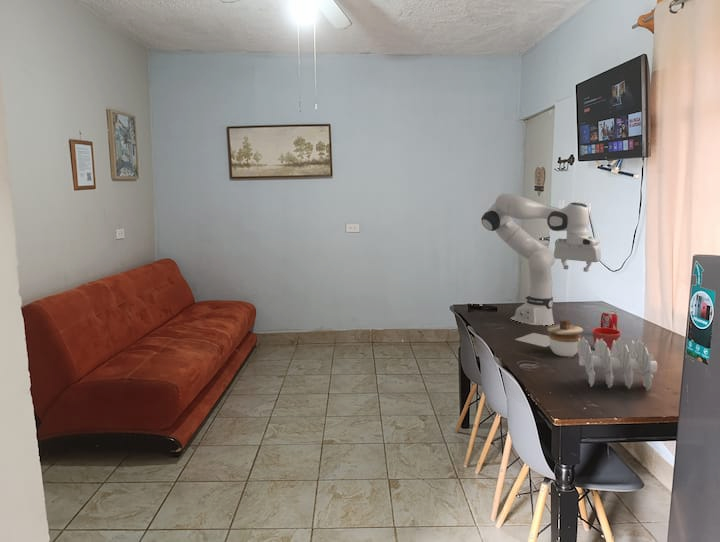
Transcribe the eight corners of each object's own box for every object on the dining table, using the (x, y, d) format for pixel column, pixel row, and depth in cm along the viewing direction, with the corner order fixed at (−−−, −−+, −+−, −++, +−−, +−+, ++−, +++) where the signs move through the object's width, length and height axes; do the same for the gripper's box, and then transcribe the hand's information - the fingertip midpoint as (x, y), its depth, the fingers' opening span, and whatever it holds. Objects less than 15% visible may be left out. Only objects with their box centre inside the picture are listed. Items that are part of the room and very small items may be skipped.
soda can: (618, 339, 239) (619, 314, 237) (602, 338, 241) (603, 313, 239) (614, 334, 246) (615, 310, 244) (598, 334, 247) (599, 310, 245)
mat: (514, 341, 240) (514, 339, 239) (533, 334, 249) (533, 332, 249) (545, 349, 227) (545, 347, 227) (564, 341, 237) (564, 339, 237)
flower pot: (608, 358, 213) (609, 335, 212) (586, 351, 223) (587, 329, 221) (625, 353, 218) (626, 331, 217) (602, 347, 228) (603, 326, 226)
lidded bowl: (584, 354, 219) (585, 329, 217) (573, 362, 210) (574, 336, 208) (555, 349, 227) (556, 325, 225) (543, 356, 218) (544, 331, 216)
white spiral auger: (655, 403, 178) (579, 395, 183) (643, 367, 192) (572, 360, 197) (670, 366, 168) (588, 359, 173) (656, 330, 182) (581, 324, 187)
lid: (540, 330, 218) (541, 320, 217) (558, 324, 226) (558, 314, 226) (572, 336, 207) (572, 326, 206) (589, 330, 216) (589, 320, 215)
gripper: (551, 238, 232) (550, 268, 235) (596, 241, 217) (594, 273, 219) (558, 237, 236) (557, 267, 239) (603, 240, 221) (601, 272, 223)
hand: (575, 270), depth 229 cm, fingers open, 8 cm apart
